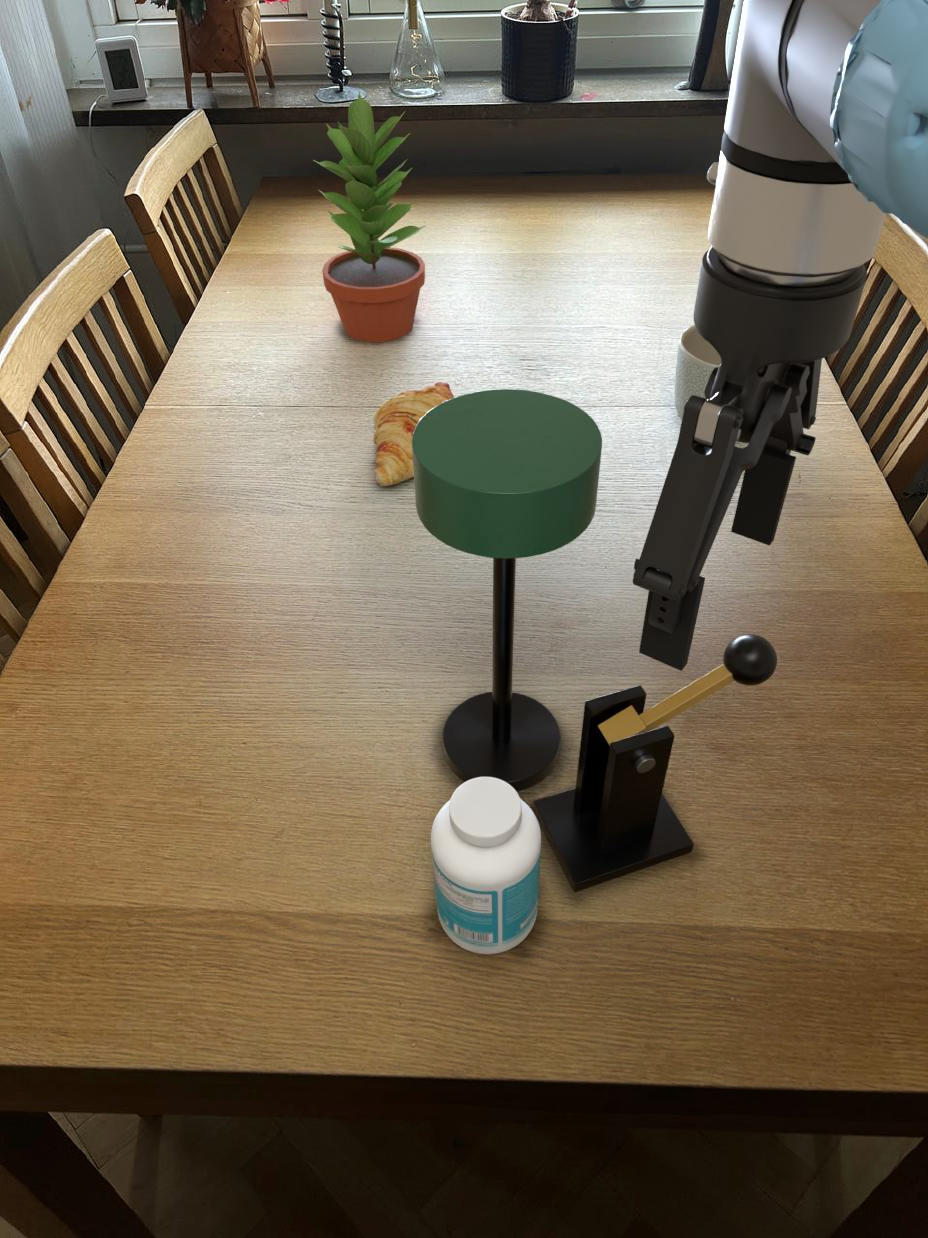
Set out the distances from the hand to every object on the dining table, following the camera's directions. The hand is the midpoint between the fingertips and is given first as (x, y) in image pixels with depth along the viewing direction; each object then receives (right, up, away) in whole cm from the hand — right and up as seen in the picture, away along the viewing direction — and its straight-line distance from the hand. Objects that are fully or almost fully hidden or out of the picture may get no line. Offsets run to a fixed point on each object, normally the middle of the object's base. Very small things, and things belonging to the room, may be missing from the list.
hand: (710, 593), depth 58 cm
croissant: (-22, +19, +56) cm, 63 cm away
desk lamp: (-12, -13, +22) cm, 28 cm away
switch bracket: (-4, -18, +16) cm, 24 cm away
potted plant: (-28, +41, +79) cm, 93 cm away
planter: (+16, +23, +59) cm, 65 cm away
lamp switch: (+1, -8, +8) cm, 12 cm away
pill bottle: (-14, -23, +11) cm, 29 cm away
